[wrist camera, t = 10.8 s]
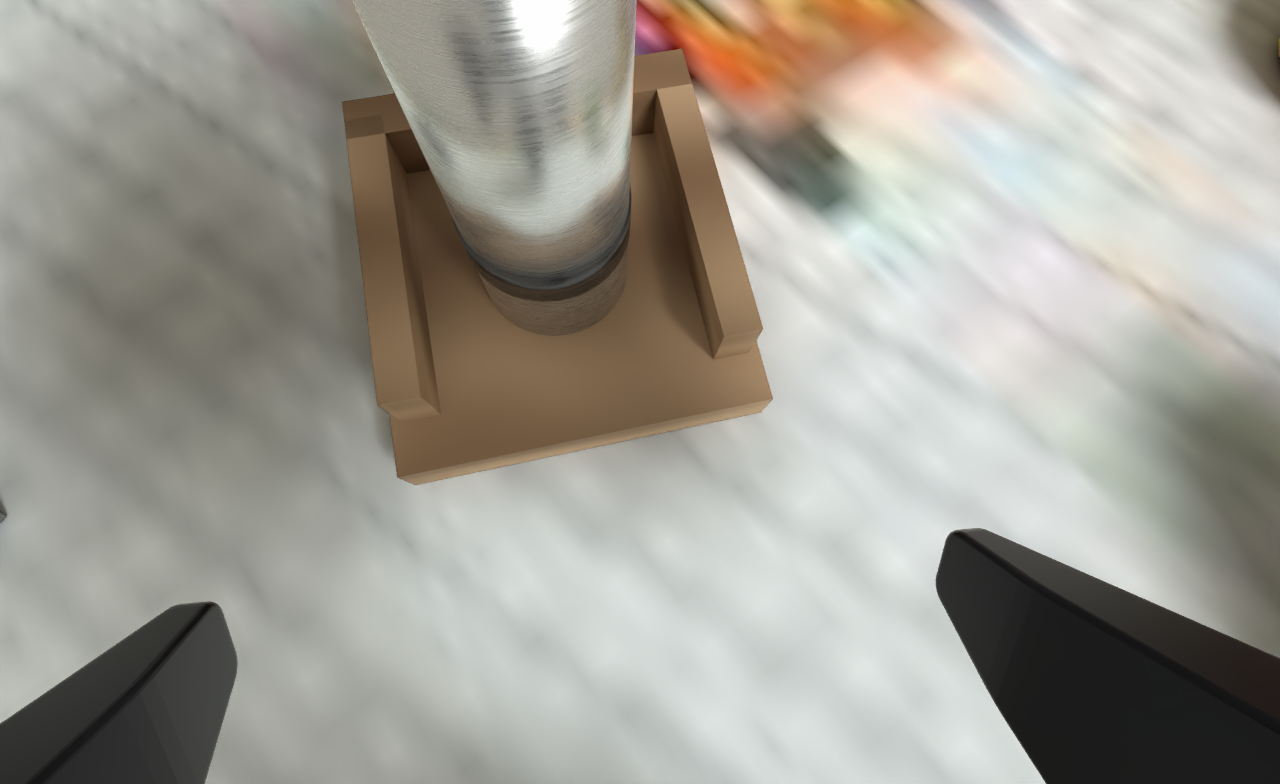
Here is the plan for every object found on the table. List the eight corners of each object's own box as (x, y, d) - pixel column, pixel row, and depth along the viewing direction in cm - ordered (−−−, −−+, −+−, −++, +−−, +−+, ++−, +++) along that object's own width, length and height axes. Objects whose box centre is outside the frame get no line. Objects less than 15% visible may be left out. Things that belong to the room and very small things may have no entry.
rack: (761, 412, 19) (790, 379, 15) (415, 484, 18) (370, 466, 14) (681, 126, 21) (692, 47, 18) (376, 176, 20) (330, 103, 17)
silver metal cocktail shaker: (596, 358, 17) (544, -202, 5) (457, 306, 17) (59, -354, 5) (649, 233, 18) (721, -495, 6) (518, 185, 19) (315, -607, 6)
